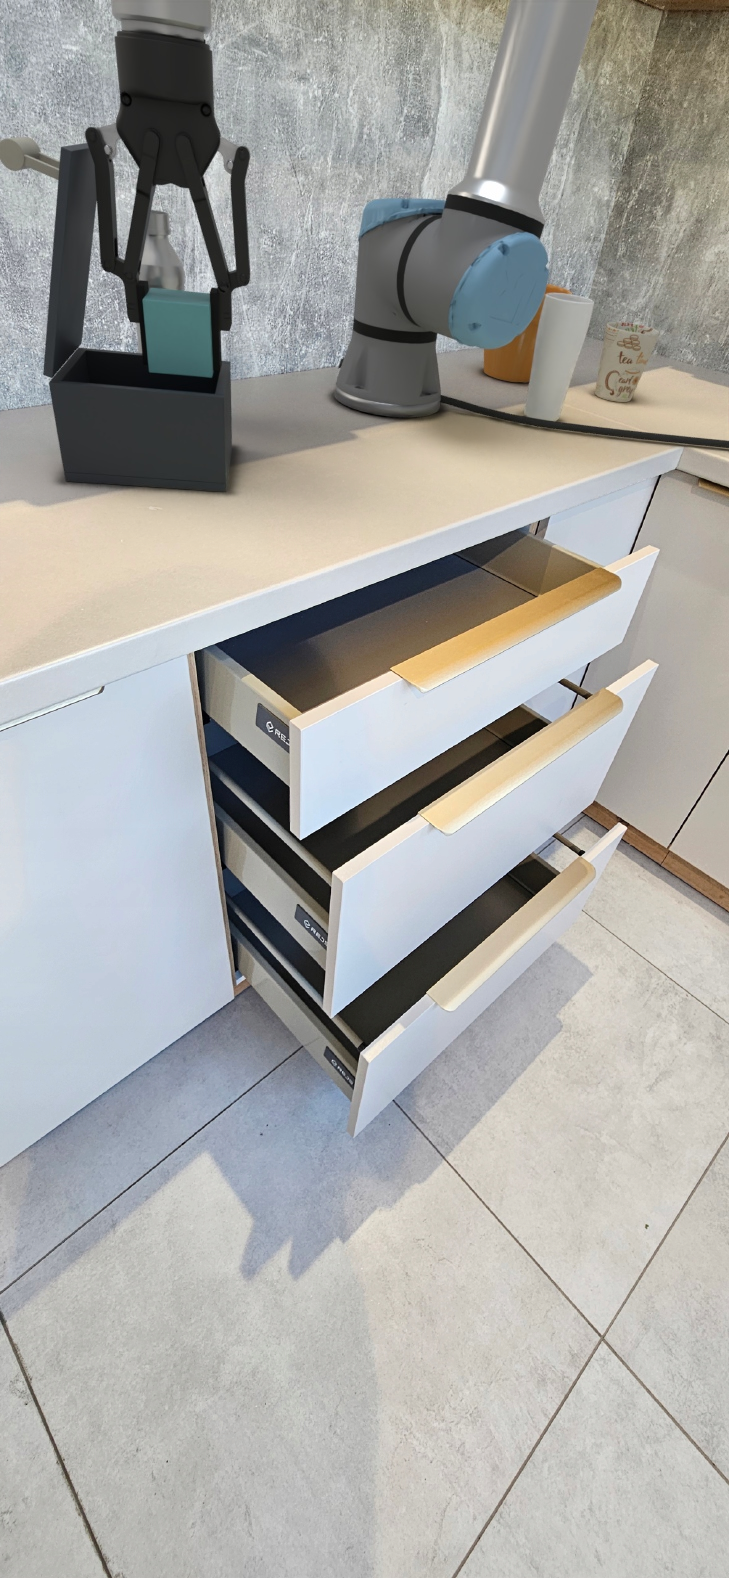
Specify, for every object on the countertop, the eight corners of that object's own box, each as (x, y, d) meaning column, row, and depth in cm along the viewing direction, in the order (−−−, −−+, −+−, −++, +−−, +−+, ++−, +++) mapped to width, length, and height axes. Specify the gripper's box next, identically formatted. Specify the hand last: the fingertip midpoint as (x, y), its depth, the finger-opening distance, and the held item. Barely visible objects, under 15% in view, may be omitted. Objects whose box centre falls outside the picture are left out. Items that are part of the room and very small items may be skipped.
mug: (584, 397, 120) (603, 326, 113) (595, 382, 129) (613, 316, 122) (634, 407, 118) (657, 336, 112) (642, 391, 127) (664, 325, 121)
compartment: (232, 447, 85) (230, 361, 79) (226, 492, 75) (223, 397, 69) (90, 436, 83) (78, 347, 77) (65, 481, 73) (48, 382, 67)
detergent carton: (215, 362, 76) (213, 293, 72) (212, 378, 71) (209, 305, 67) (156, 357, 75) (150, 287, 71) (148, 372, 71) (142, 299, 66)
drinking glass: (514, 418, 106) (541, 296, 96) (522, 407, 111) (549, 290, 101) (559, 428, 105) (592, 305, 95) (566, 417, 110) (598, 299, 100)
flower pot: (551, 373, 130) (572, 286, 122) (548, 392, 120) (571, 299, 111) (473, 360, 132) (489, 273, 123) (463, 378, 121) (480, 284, 113)
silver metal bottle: (182, 423, 89) (169, 218, 76) (129, 414, 90) (108, 209, 77) (201, 410, 94) (192, 214, 81) (151, 401, 95) (134, 205, 81)
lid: (102, 145, 66) (29, 113, 65) (71, 151, 56) (-16, 112, 55) (81, 344, 77) (18, 320, 75) (52, 378, 67) (-22, 352, 65)
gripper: (284, 53, 61) (278, 363, 77) (47, 19, 59) (91, 347, 74) (284, 48, 56) (278, 383, 71) (24, 10, 53) (76, 365, 69)
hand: (183, 364), depth 73 cm, fingers closed on detergent carton, 6 cm apart
